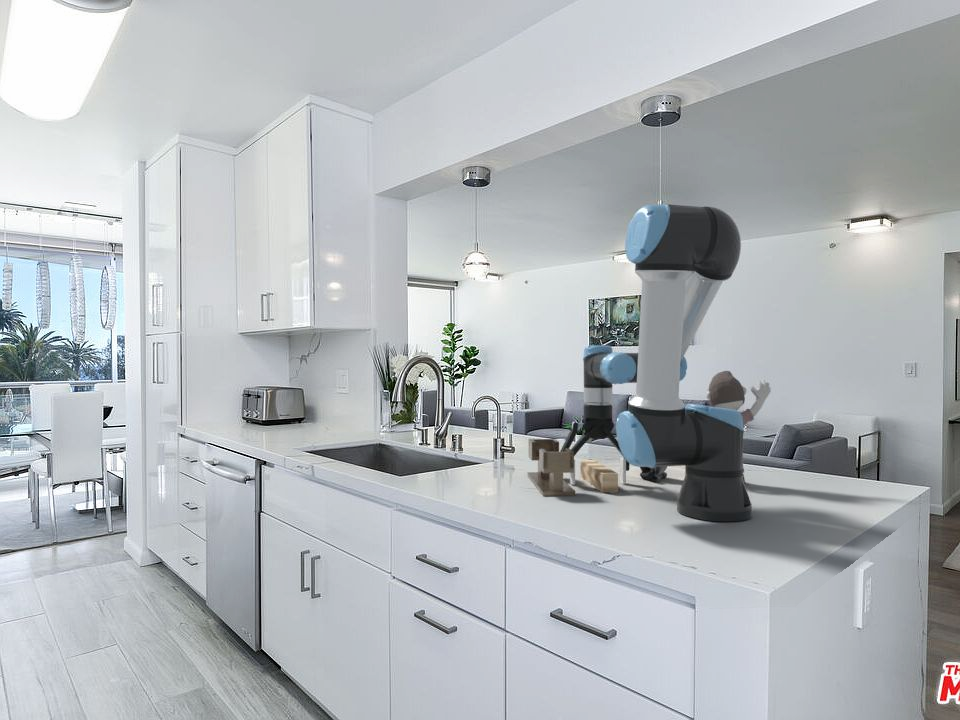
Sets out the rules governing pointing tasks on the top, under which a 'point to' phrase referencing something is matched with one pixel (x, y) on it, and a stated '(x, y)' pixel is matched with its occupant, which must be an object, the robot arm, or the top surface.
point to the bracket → (551, 467)
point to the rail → (599, 476)
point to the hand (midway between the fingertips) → (597, 483)
